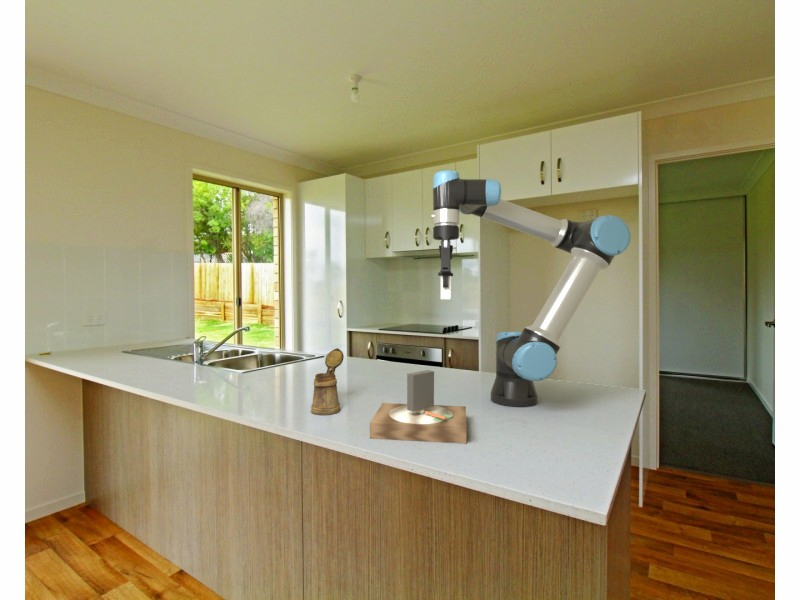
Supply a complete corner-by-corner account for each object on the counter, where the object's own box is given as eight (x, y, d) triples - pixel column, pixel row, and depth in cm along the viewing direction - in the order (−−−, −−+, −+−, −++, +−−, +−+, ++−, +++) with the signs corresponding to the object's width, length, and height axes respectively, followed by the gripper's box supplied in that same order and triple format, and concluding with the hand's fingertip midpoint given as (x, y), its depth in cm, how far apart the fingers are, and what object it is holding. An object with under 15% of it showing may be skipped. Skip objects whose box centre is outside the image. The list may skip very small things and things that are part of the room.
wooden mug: (351, 404, 140) (350, 348, 139) (332, 416, 127) (332, 355, 126) (325, 401, 143) (325, 347, 142) (305, 413, 130) (305, 353, 129)
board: (465, 420, 124) (465, 405, 124) (466, 443, 106) (466, 425, 106) (382, 416, 127) (382, 401, 127) (369, 438, 109) (369, 421, 109)
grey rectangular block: (427, 408, 120) (427, 370, 119) (455, 417, 112) (455, 376, 112) (407, 414, 115) (407, 373, 114) (434, 423, 107) (434, 380, 107)
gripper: (435, 230, 140) (435, 296, 141) (430, 220, 115) (430, 300, 116) (458, 230, 139) (458, 296, 140) (459, 219, 114) (459, 300, 115)
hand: (446, 298), depth 128 cm, fingers open, 13 cm apart
